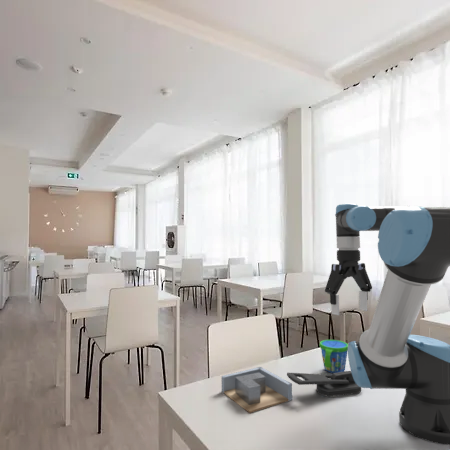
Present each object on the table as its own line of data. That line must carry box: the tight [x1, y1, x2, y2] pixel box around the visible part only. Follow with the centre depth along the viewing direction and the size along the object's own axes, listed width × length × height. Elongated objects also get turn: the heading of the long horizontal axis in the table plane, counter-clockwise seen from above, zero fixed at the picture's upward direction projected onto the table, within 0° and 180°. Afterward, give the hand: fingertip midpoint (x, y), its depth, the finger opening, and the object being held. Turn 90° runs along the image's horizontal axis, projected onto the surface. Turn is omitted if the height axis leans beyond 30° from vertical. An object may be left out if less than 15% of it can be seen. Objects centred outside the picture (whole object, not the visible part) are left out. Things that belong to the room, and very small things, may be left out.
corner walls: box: [221, 366, 293, 402], centre depth 109 cm, size 16×16×5 cm
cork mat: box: [223, 386, 289, 414], centre depth 108 cm, size 15×14×1 cm
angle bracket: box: [235, 373, 266, 405], centre depth 108 cm, size 9×9×5 cm
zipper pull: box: [286, 370, 362, 398], centre depth 111 cm, size 9×7×25 cm
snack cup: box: [319, 339, 349, 374], centre depth 130 cm, size 16×10×10 cm
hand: (349, 312), depth 114 cm, fingers open, 13 cm apart
